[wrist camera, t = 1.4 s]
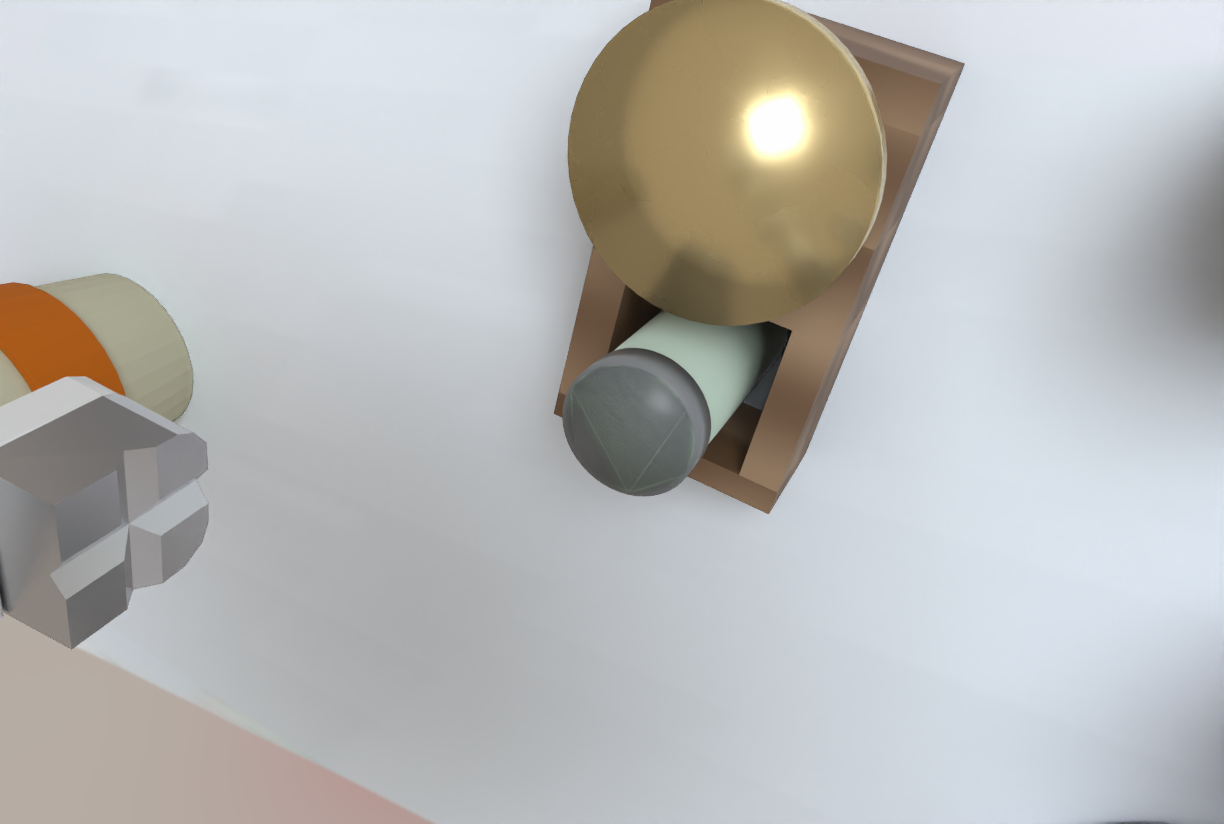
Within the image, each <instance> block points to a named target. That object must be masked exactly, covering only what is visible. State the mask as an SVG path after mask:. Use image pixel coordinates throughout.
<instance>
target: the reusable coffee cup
mask: <svg viewBox="0 0 1224 824" xmlns="http://www.w3.org/2000/svg"><path fill="white" fill-rule="evenodd" d="M78 376H86V377H88V378H90V379H91V380H93V381H95V382H97V383H99V384H101V385H103V386H105V387H106V388H108V389H110V390H112V391H114V392H116V393H118V394H120V395H123V396H125V397H127V398H129V399H131V400H133V401H135V402H136V403H138V404H140V405H142V406H144V407H146V408H148V409H150V410H151V411H153V412H155V413H157V414H159V415H161V416H163V417H165V418H166V419H168V420H170V421H174V420H175V419H176V418H178V417H179V416H180V415H182V414H183V413H184V411H185V410H186V408H187V407H188V405H189V402H190V399H191V396H192V389H193V373H192V366H191V361H190V357H189V353H188V350H187V348H186V345H185V343H184V340H183V338H182V336H181V334H180V332H179V330H178V328H177V326H176V325H175V323H174V321H173V320H172V318H171V317H170V316H169V314H168V313H167V311H166V310H165V309H164V308H163V306H162V305H161V304H160V303H159V302H158V301H157V300H156V299H155V298H154V297H153V296H152V295H151V294H150V293H149V292H147V291H146V290H145V289H144V288H143V287H141V286H140V285H138V284H136V283H135V282H133V281H131V280H130V279H127V278H125V277H122V276H119V275H115V274H107V273H105V274H98V275H93V276H87V277H82V278H77V279H72V280H66V281H61V282H56V283H51V284H45V285H40V286H35V287H33V286H31V285H28V284H21V283H14V282H13V283H7V284H1V285H0V407H1V406H3V405H5V404H7V403H9V402H12V401H14V400H16V399H18V398H20V397H23V396H25V395H27V394H29V393H31V392H33V391H36V390H38V389H40V388H42V387H44V386H47V385H49V384H51V383H53V382H55V381H58V380H60V379H62V378H64V377H78Z"/></svg>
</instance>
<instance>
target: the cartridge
mask: <svg viewBox="0 0 1224 824" xmlns="http://www.w3.org/2000/svg"><path fill="white" fill-rule="evenodd" d="M786 336H787V328H785V327H782V326H780V325H777V324H775V323H773V322H770V321H766V322H760V323H755V324H749V325H737V326H722V325H710V324H704V323H700V322H695V321H690V320H687V319H684V318H681V317H679V316H676V315H673V314H670V313H668V312H666V311H664V310H662V311H661V312H660V313H658V314H657V315H656V316H655V317H654V318H652V319H651V320H650V321H649V322H648V323H646V324H645V325H644V326H643V327H642V328H640V329H639V330H638V331H637V332H636V333H634V334H633V335H632V336H631V337H629V338H628V339H627V340H626V341H625V342H623V343H622V344H621V345H620V346H619V347H617V348H616V349H615V350H614V351H612V352H610V353H608V354H606V355H604V356H602V357H601V358H600V359H598V360H597V361H596V362H594V363H593V364H592V365H591V366H590V367H588V368H587V369H586V370H585V371H584V372H582V373H581V374H580V375H579V376H578V377H577V378H576V379H575V380H574V381H573V383H572V384H571V386H570V387H569V389H568V391H567V394H566V397H565V400H564V405H563V427H564V431H565V435H566V438H567V441H568V443H569V446H570V448H571V450H572V452H573V453H574V455H575V457H576V458H577V460H578V461H579V462H580V463H581V465H582V466H583V467H584V468H585V469H586V470H587V471H588V472H589V473H590V474H591V475H592V476H593V477H594V478H595V479H597V480H598V481H600V482H601V483H603V484H604V485H606V486H608V487H610V488H611V489H614V490H616V491H619V492H621V493H625V494H628V495H634V496H654V495H658V494H662V493H665V492H667V491H670V490H671V489H673V488H675V487H676V486H677V485H679V484H680V483H681V482H682V481H683V480H684V479H685V478H686V477H687V475H688V474H689V473H690V472H691V470H692V469H693V468H694V467H695V465H696V464H697V463H698V462H699V460H700V459H701V458H702V456H703V454H704V453H705V451H706V449H707V446H708V444H709V443H710V442H711V440H712V439H713V438H714V437H715V435H716V434H717V433H718V432H719V431H720V429H721V428H722V427H723V426H724V424H725V423H726V422H727V421H728V419H729V418H730V417H731V416H732V414H733V413H734V412H735V411H736V409H737V408H738V407H739V406H740V404H741V403H742V402H743V401H744V399H745V398H746V397H747V396H748V394H749V393H750V392H751V391H752V389H753V388H754V387H755V386H756V385H757V383H758V382H759V381H760V380H761V378H762V377H763V376H764V375H765V373H766V372H767V371H768V370H769V368H770V367H771V366H772V365H773V363H774V362H775V361H776V360H777V358H778V357H779V355H780V354H781V352H782V350H783V348H784V345H785V341H786Z"/></svg>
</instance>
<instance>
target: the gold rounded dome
mask: <svg viewBox="0 0 1224 824" xmlns="http://www.w3.org/2000/svg"><path fill="white" fill-rule="evenodd" d="M568 167H569V178H570V183H571V188H572V193H573V198H574V201H575V204H576V207H577V211H578V214H579V217H580V219H581V221H582V224H583V226H584V228H585V230H586V232H587V235H588V237H589V238H590V240H591V242H592V243H593V245H594V247H595V248H596V250H597V252H598V253H599V255H600V256H601V257H602V259H603V260H604V261H605V263H606V264H607V265H608V267H609V268H610V269H611V270H612V271H613V272H614V273H615V274H616V275H617V276H618V277H619V278H620V280H621V281H622V282H623V283H625V284H626V285H627V286H628V287H629V288H630V289H632V290H633V291H634V292H635V293H636V294H638V295H639V296H641V297H642V298H644V299H645V300H647V301H648V302H650V303H651V304H653V305H654V306H656V307H658V308H660V309H662V310H664V311H666V312H668V313H670V314H673V315H676V316H679V317H681V318H684V319H687V320H690V321H695V322H700V323H704V324H710V325H722V326H737V325H749V324H755V323H760V322H766V321H769V320H772V319H775V318H778V317H781V316H784V315H786V314H788V313H790V312H792V311H794V310H796V309H798V308H801V307H802V306H804V305H805V304H807V303H808V302H810V301H811V300H813V299H814V298H816V297H817V296H819V295H820V294H821V293H822V292H823V291H824V290H825V289H827V288H828V287H829V286H830V285H831V284H832V283H833V282H834V281H835V280H836V279H837V278H838V276H839V275H840V274H841V273H842V272H843V271H844V270H845V268H846V267H847V266H848V265H849V264H850V262H851V261H852V260H853V259H854V257H855V256H856V255H857V253H858V251H859V250H860V248H861V247H862V245H863V244H864V242H865V241H866V239H867V237H868V235H869V233H870V231H871V229H872V226H873V224H874V222H875V220H876V217H877V214H878V211H879V208H880V205H881V201H882V198H883V192H884V187H885V181H886V169H887V147H886V136H885V129H884V125H883V120H882V116H881V111H880V108H879V105H878V102H877V100H876V97H875V94H874V91H873V89H872V87H871V85H870V83H869V81H868V79H867V77H866V75H865V73H864V71H863V69H862V68H861V66H860V65H859V63H858V62H857V60H856V59H855V58H854V56H853V55H852V54H851V52H850V51H849V49H848V48H847V47H846V46H845V45H844V44H843V43H842V42H841V41H840V40H839V39H838V38H837V36H836V35H835V34H834V33H833V32H832V31H830V30H829V29H828V28H827V27H825V26H824V25H823V24H822V23H820V22H819V21H818V20H817V19H815V18H814V17H812V16H811V15H809V14H807V13H805V12H804V11H802V10H800V9H799V8H797V7H795V6H793V5H790V4H788V3H785V2H783V1H780V0H673V1H670V2H667V3H665V4H662V5H659V6H657V7H655V8H653V9H651V10H650V11H648V12H646V13H644V14H642V15H640V16H639V17H637V18H636V19H635V20H633V21H632V22H631V23H629V24H628V25H627V26H625V27H624V28H623V29H622V30H621V31H620V32H619V33H618V34H617V35H616V36H615V37H614V38H613V39H612V40H611V41H610V42H609V43H608V44H607V45H606V46H605V47H604V49H603V50H602V51H601V53H600V54H599V55H598V57H597V58H596V59H595V61H594V62H593V64H592V66H591V68H590V70H589V71H588V73H587V75H586V77H585V78H584V81H583V83H582V86H581V88H580V91H579V93H578V95H577V98H576V102H575V105H574V109H573V113H572V116H571V123H570V129H569V136H568Z"/></svg>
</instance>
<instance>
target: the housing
mask: <svg viewBox="0 0 1224 824" xmlns="http://www.w3.org/2000/svg"><path fill="white" fill-rule="evenodd" d="M670 1H673V0H651V4H650V8H649V11H650V10H651V9H653V8H655V7H657V6H659V5H662V4H665V3H667V2H670ZM805 13H806V12H805ZM807 14H809V13H807ZM809 15H811V16H812V17H814V18H815V19H817V20H818V21H819V22H820V23H822V24H823V25H824V26H825V27H827V28H828V29H829V30H830V31H832V32H833V33H834V34H835V35H836V36H837V38H838V39H839V40H840V41H841V42H842V43H843V44H844V45H845V46H846V47H847V48H848V49H849V51H850V52H851V54H852V55H853V56H854V58H855V59H856V60H857V62H858V63H859V65H860V66H861V68H862V69H863V71H864V73H865V75H866V77H867V79H868V81H869V83H870V85H871V87H872V89H873V91H874V94H875V97H876V100H877V102H878V105H879V108H880V111H881V116H882V120H883V125H884V129H885V136H886V147H887V169H886V181H885V187H884V192H883V198H882V201H881V205H880V208H879V211H878V214H877V217H876V220H875V222H874V224H873V226H872V229H871V231H870V233H869V235H868V237H867V239H866V241H865V242H864V244H863V245H862V247H861V248H860V250H859V251H858V253H857V255H856V256H855V257H854V259H853V260H852V261H851V262H850V264H849V265H848V266H847V267H846V268H845V270H844V271H843V272H842V273H841V274H840V275H839V276H838V278H837V279H836V280H835V281H834V282H833V283H832V284H831V285H830V286H829V287H828V288H827V289H825V290H824V291H823V292H822V293H821V294H820V295H819V296H817V297H816V298H814V299H813V300H811V301H810V302H808V303H807V304H805V305H804V306H802V307H801V308H798V309H796V310H794V311H792V312H790V313H788V314H786V315H784V316H781V317H778V318H775V319H772V320H769V321H770V322H773V323H775V324H777V325H780V326H782V327H785V328H787V329H789V330H792V333H791V336H790V338H789V341H788V344H787V346H786V349H785V352H784V355H783V357H782V360H781V363H780V365H779V368H778V371H777V374H776V376H775V379H774V382H773V384H772V387H771V390H770V392H769V395H768V398H767V401H766V403H765V406H764V409H763V411H761V410H758V409H756V408H754V407H752V406H749V405H747V404H745V403H741V404H740V406H739V407H738V408H737V409H736V411H735V412H734V413H733V414H732V416H731V417H730V418H729V419H728V421H727V422H726V423H725V424H724V426H723V427H722V428H721V429H720V431H719V432H718V433H717V434H716V435H715V437H714V438H713V439H712V440H711V442H710V443H709V444H708V446H707V449H706V451H705V453H704V454H703V456H702V458H701V459H700V460H699V462H698V463H697V464H696V465H695V467H694V468H693V469H692V470H691V472H690V473H689V474H688V475H687V476H688V477H690V478H692V479H695V480H697V481H699V482H701V483H703V484H705V485H707V486H710V487H712V488H714V489H716V490H718V491H720V492H722V493H724V494H727V495H729V496H731V497H733V498H735V499H737V500H739V501H742V502H744V503H746V504H748V505H750V506H752V507H754V508H757V509H759V510H761V511H763V512H765V513H767V514H769V513H770V511H771V510H772V508H773V506H774V505H775V503H776V501H777V500H778V498H779V496H780V495H781V493H782V491H783V490H784V488H785V486H786V485H787V483H788V482H789V480H790V478H791V477H792V475H793V473H794V472H795V470H796V468H797V467H798V465H799V463H800V462H801V460H802V458H803V457H804V455H805V453H806V451H807V448H808V446H809V443H810V441H811V439H812V436H813V434H814V431H815V429H816V426H817V424H818V421H819V419H820V417H821V414H822V412H823V409H824V407H825V404H826V402H827V399H828V397H829V395H830V392H831V390H832V387H833V385H834V382H835V380H836V377H837V375H838V373H839V370H840V368H841V365H842V363H843V360H844V358H845V355H846V353H847V351H848V348H849V346H850V343H851V341H852V338H853V336H854V333H855V331H856V329H857V326H858V324H859V321H860V319H861V316H862V314H863V311H864V309H865V307H866V304H867V302H868V299H869V297H870V294H871V292H872V289H873V287H874V285H875V282H876V280H877V277H878V275H879V272H880V270H881V267H882V265H883V263H884V260H885V258H886V255H887V253H888V250H889V248H890V245H891V243H892V241H893V238H894V236H895V233H896V231H897V228H898V226H899V223H900V221H901V219H902V216H903V214H904V211H905V209H906V206H907V204H908V201H909V199H910V197H911V194H912V192H913V189H914V187H915V184H916V182H917V179H918V177H919V175H920V172H921V170H922V167H923V165H924V162H925V160H926V157H927V155H928V153H929V150H930V148H931V145H932V143H933V140H934V138H935V135H936V133H937V130H938V128H939V126H940V123H941V121H942V118H943V116H944V113H945V111H946V108H947V106H948V104H949V101H950V99H951V96H952V94H953V91H954V89H955V86H956V84H957V82H958V79H959V77H960V74H961V72H962V69H963V67H964V63H961V62H958V61H955V60H952V59H949V58H946V57H943V56H939V55H936V54H933V53H930V52H927V51H924V50H921V49H918V48H915V47H912V46H908V45H905V44H902V43H899V42H896V41H893V40H890V39H887V38H884V37H881V36H877V35H874V34H871V33H868V32H865V31H862V30H859V29H856V28H853V27H850V26H847V25H843V24H840V23H837V22H834V21H831V20H828V19H825V18H822V17H819V16H816V15H812V14H809ZM658 313H660V308H658V307H656V306H654V305H653V304H651V303H650V302H648V301H647V300H645V299H644V298H642V297H641V296H639V295H638V294H636V293H635V292H634V291H633V290H632V289H630V288H629V287H628V286H627V285H626V284H625V283H623V282H622V281H621V280H620V278H619V277H618V276H617V275H616V274H615V273H614V272H613V271H612V270H611V269H610V268H609V267H608V265H607V264H606V263H605V261H604V260H603V259H602V257H601V256H600V255H599V253H598V252H597V250H596V248H595V247H594V245H593V250H592V254H591V258H590V262H589V267H588V271H587V275H586V279H585V284H584V288H583V292H582V296H581V300H580V305H579V309H578V313H577V317H576V322H575V326H574V330H573V334H572V339H571V343H570V347H569V351H568V356H567V360H566V364H565V368H564V373H563V377H562V381H561V385H560V389H559V394H558V398H557V402H556V406H555V411H554V414H556V415H558V416H560V417H562V418H563V405H564V400H565V397H566V394H567V391H568V389H569V387H570V386H571V384H572V383H573V381H574V380H575V379H576V378H577V377H578V376H579V375H580V374H581V373H582V372H584V371H585V370H586V369H587V368H588V367H590V366H591V365H592V364H593V363H594V362H596V361H597V360H598V359H600V358H601V357H602V356H604V355H606V354H608V353H610V352H612V351H614V350H615V349H616V348H617V347H619V346H620V345H621V344H622V343H623V342H625V341H626V340H627V339H628V338H629V337H631V336H632V335H633V334H634V333H636V332H637V331H638V330H639V329H640V328H642V327H643V326H644V325H645V324H646V323H648V322H649V321H650V320H651V319H652V318H654V317H655V316H656V315H657V314H658Z"/></svg>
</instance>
